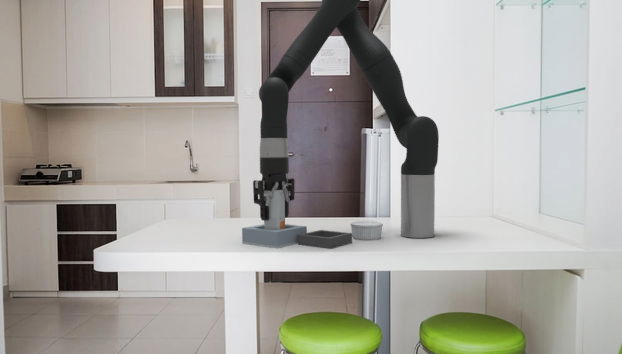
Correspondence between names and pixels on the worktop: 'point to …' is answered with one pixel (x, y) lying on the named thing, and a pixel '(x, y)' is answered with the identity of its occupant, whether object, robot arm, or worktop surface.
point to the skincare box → (276, 211)
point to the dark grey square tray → (325, 239)
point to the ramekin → (366, 230)
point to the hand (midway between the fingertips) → (275, 218)
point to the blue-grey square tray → (272, 235)
